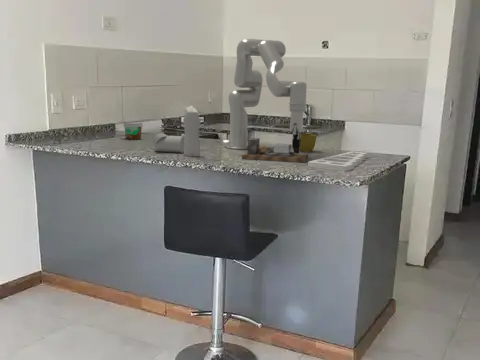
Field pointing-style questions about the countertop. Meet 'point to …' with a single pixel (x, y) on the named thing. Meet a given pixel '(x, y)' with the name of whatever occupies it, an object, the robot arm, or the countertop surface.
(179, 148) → the bent grey cylinder
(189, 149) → the tall pale column
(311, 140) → the flower pot
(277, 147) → the ram
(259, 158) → the press base
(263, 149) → the nut
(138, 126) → the food container
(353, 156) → the holder
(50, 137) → the countertop surface
